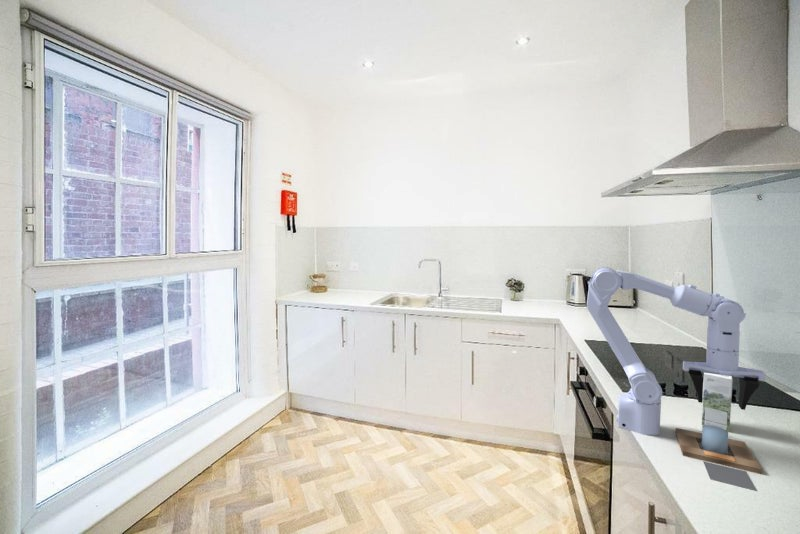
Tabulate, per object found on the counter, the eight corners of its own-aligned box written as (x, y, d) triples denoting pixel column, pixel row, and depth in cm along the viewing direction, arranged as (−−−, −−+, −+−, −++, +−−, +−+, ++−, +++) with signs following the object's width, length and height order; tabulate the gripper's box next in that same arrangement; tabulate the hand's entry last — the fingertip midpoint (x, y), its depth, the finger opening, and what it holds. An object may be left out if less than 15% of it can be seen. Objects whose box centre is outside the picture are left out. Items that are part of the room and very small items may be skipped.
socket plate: (682, 459, 81) (683, 450, 81) (675, 435, 91) (675, 427, 91) (761, 478, 75) (761, 468, 74) (743, 450, 85) (744, 441, 85)
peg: (703, 457, 82) (704, 431, 82) (699, 447, 86) (700, 423, 86) (729, 463, 80) (730, 437, 80) (724, 452, 84) (725, 428, 83)
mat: (710, 483, 73) (710, 479, 73) (702, 465, 79) (703, 461, 79) (757, 496, 69) (757, 491, 69) (745, 475, 75) (746, 471, 75)
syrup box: (729, 424, 97) (732, 371, 96) (729, 432, 92) (732, 378, 92) (701, 417, 101) (704, 367, 100) (701, 425, 96) (703, 372, 95)
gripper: (686, 348, 85) (684, 404, 86) (771, 357, 78) (768, 418, 79) (681, 341, 91) (680, 393, 92) (760, 349, 84) (757, 406, 85)
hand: (720, 404), depth 86 cm, fingers open, 7 cm apart
